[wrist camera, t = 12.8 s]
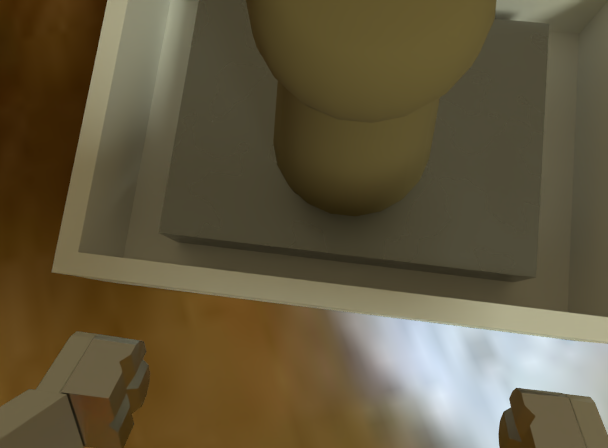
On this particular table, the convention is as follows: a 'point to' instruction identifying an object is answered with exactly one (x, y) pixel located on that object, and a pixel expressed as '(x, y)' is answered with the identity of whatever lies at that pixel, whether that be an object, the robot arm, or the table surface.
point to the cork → (362, 90)
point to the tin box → (398, 217)
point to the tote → (325, 273)
